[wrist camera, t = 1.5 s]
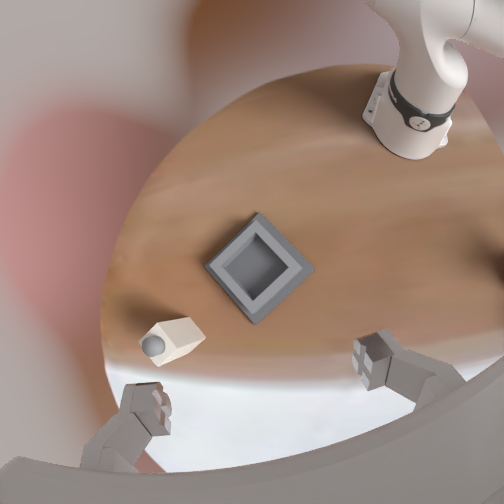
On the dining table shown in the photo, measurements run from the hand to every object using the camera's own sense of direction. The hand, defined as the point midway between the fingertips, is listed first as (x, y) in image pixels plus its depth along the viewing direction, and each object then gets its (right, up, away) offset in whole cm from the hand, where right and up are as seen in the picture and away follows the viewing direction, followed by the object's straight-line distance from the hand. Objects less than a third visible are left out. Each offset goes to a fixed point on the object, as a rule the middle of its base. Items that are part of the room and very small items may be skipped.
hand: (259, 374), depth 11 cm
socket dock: (+1, +2, +41) cm, 41 cm away
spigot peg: (-12, -11, +42) cm, 45 cm away
